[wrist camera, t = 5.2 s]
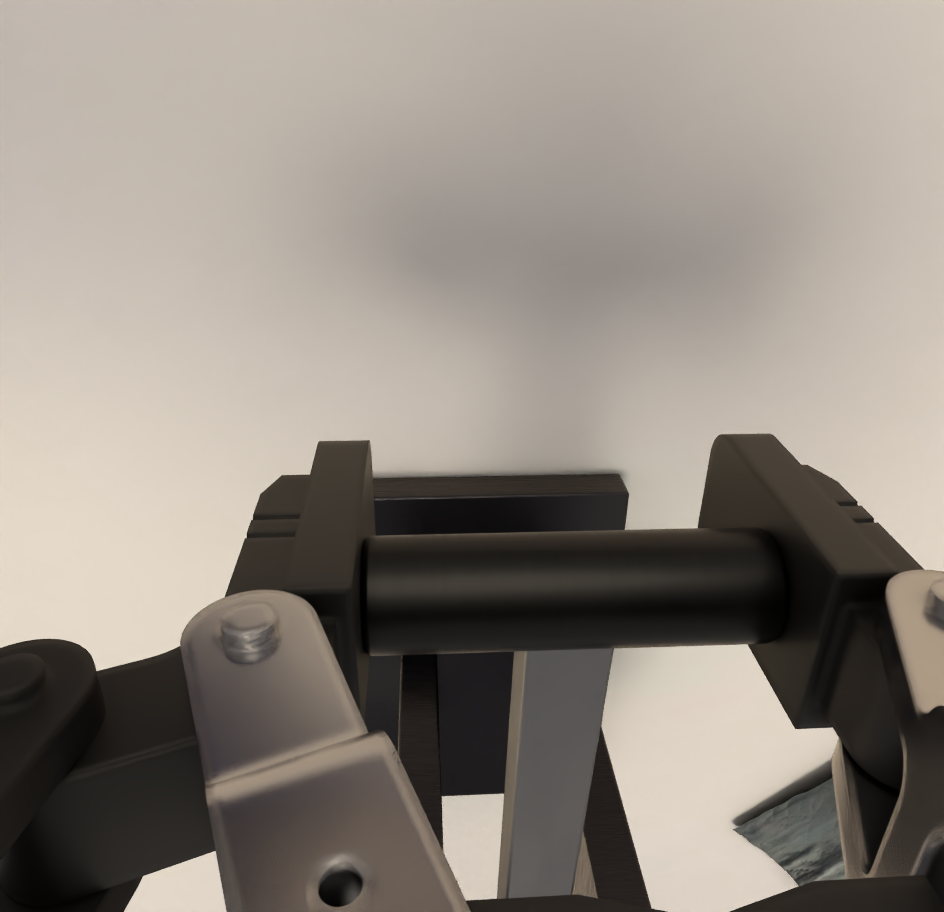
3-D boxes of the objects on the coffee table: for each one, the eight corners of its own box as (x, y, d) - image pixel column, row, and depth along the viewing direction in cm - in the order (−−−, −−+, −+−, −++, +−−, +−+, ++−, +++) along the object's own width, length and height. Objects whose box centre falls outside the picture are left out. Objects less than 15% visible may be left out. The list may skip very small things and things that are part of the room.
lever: (366, 489, 10) (354, 624, 8) (743, 482, 10) (822, 611, 8) (398, 971, 17) (396, 1106, 15) (621, 958, 18) (648, 1089, 16)
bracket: (346, 478, 22) (273, 905, 11) (619, 472, 23) (819, 877, 12) (367, 772, 28) (331, 1262, 16) (587, 762, 28) (701, 1234, 17)
